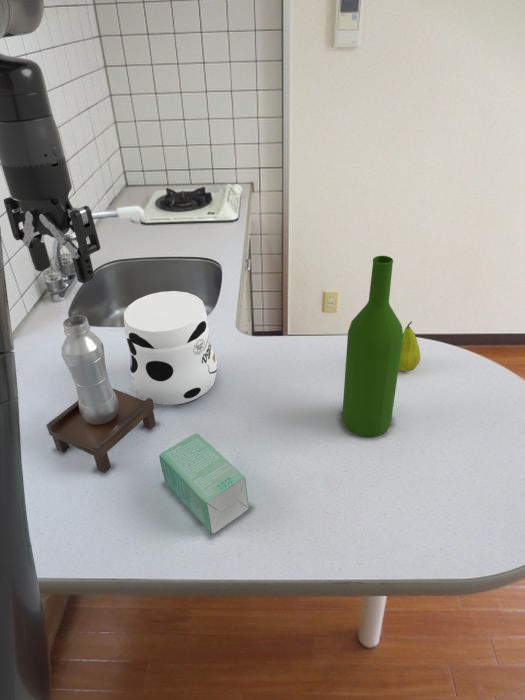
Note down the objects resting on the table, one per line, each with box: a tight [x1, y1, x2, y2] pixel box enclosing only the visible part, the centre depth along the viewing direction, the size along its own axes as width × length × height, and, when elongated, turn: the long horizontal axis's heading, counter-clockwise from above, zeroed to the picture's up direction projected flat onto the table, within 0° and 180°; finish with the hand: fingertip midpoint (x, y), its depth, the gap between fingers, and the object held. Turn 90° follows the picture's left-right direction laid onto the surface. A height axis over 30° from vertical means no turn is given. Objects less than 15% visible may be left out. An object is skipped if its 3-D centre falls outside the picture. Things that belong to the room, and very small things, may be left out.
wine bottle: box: [341, 255, 404, 438], centre depth 88 cm, size 9×9×32 cm
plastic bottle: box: [60, 314, 119, 425], centre depth 87 cm, size 6×7×20 cm
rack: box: [45, 387, 157, 474], centre depth 94 cm, size 14×12×6 cm
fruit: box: [398, 320, 421, 372], centre depth 107 cm, size 6×6×12 cm
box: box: [158, 433, 250, 534], centre depth 82 cm, size 7×14×8 cm, turn 41°
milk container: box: [123, 290, 218, 407], centre depth 103 cm, size 17×17×18 cm
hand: (64, 274), depth 74 cm, fingers open, 8 cm apart
